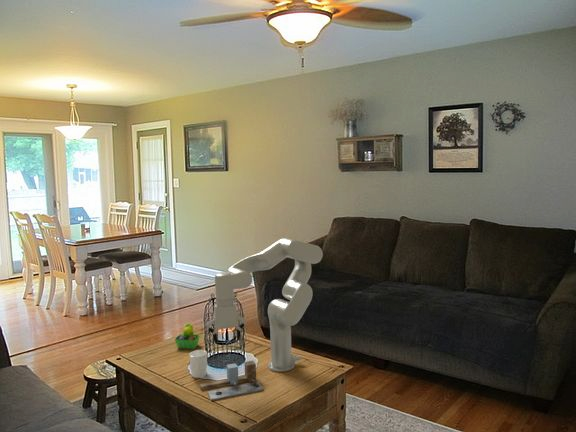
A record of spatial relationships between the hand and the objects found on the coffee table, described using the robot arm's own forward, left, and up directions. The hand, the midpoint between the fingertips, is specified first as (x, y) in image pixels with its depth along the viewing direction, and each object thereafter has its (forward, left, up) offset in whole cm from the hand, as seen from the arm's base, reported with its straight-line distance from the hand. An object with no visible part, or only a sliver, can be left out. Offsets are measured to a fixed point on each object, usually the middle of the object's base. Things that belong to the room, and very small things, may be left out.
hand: (227, 340), depth 204 cm
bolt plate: (-1, +9, -19) cm, 21 cm away
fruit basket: (+9, -49, -19) cm, 54 cm away
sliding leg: (-2, +2, -19) cm, 19 cm away
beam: (0, +2, -19) cm, 19 cm away
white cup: (+10, -13, -19) cm, 26 cm away
